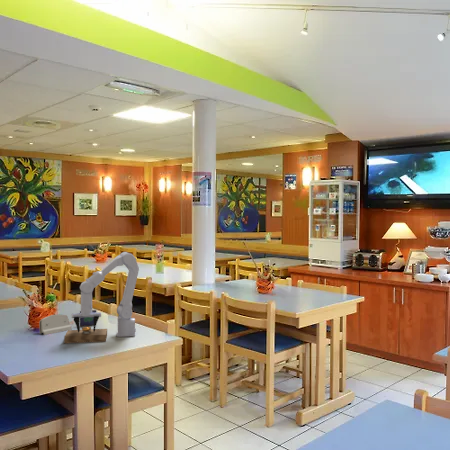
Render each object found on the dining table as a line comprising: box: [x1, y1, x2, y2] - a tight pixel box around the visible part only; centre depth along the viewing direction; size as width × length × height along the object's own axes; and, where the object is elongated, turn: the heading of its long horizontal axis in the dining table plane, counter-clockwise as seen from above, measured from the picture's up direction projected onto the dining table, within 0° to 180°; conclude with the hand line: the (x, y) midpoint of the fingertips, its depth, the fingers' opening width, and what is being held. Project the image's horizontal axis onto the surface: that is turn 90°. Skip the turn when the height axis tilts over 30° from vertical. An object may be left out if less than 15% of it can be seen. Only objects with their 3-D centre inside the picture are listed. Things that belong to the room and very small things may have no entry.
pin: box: [81, 326, 92, 334], centre depth 234 cm, size 4×4×6 cm
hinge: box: [38, 314, 73, 336], centre depth 250 cm, size 17×5×10 cm, turn 138°
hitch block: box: [63, 328, 108, 344], centre depth 235 cm, size 20×12×4 cm, turn 101°
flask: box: [79, 308, 97, 327], centre depth 262 cm, size 9×3×11 cm, turn 112°
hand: (86, 331), depth 234 cm, fingers open, 7 cm apart
